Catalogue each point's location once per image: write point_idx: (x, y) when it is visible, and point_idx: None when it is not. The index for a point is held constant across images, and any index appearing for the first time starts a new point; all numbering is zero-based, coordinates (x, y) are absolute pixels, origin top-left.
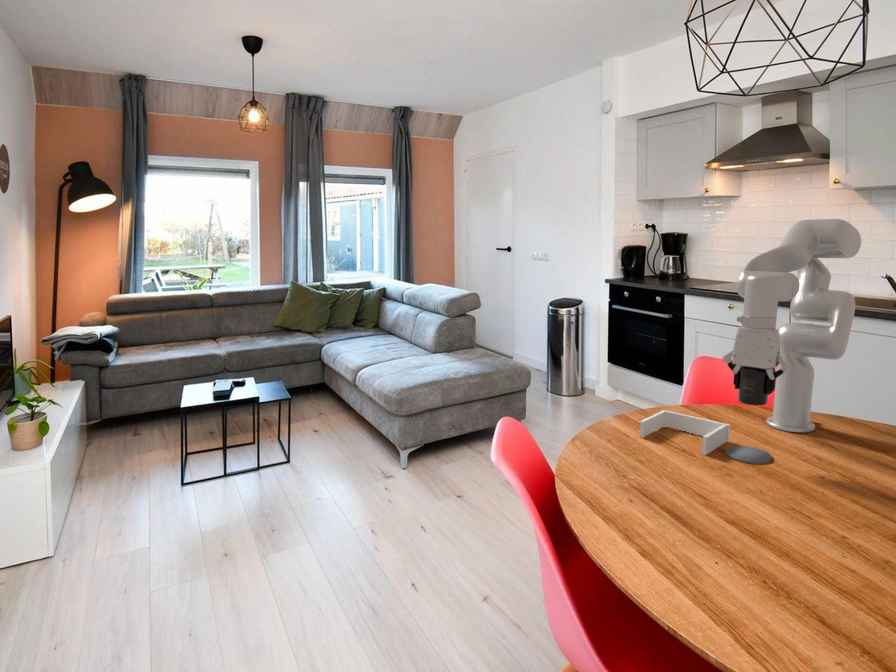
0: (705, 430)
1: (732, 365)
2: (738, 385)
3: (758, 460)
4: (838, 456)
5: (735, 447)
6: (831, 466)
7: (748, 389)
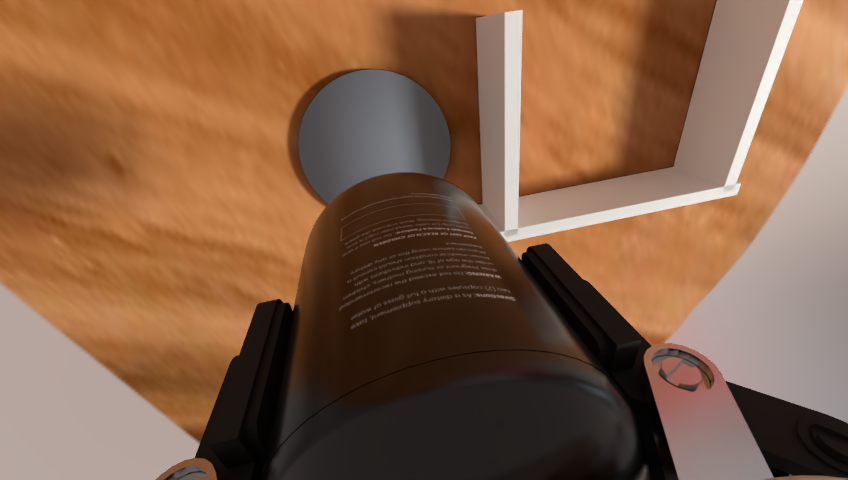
0: (557, 200)
1: (798, 451)
2: (534, 276)
3: (317, 119)
4: (232, 347)
5: (433, 170)
6: (183, 275)
7: (404, 226)
